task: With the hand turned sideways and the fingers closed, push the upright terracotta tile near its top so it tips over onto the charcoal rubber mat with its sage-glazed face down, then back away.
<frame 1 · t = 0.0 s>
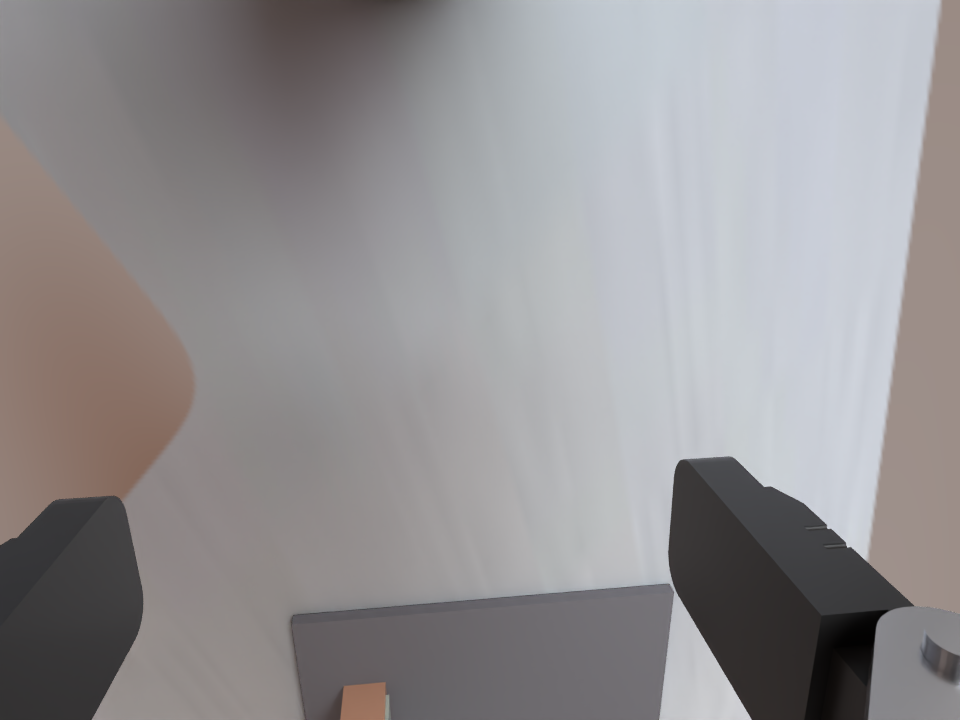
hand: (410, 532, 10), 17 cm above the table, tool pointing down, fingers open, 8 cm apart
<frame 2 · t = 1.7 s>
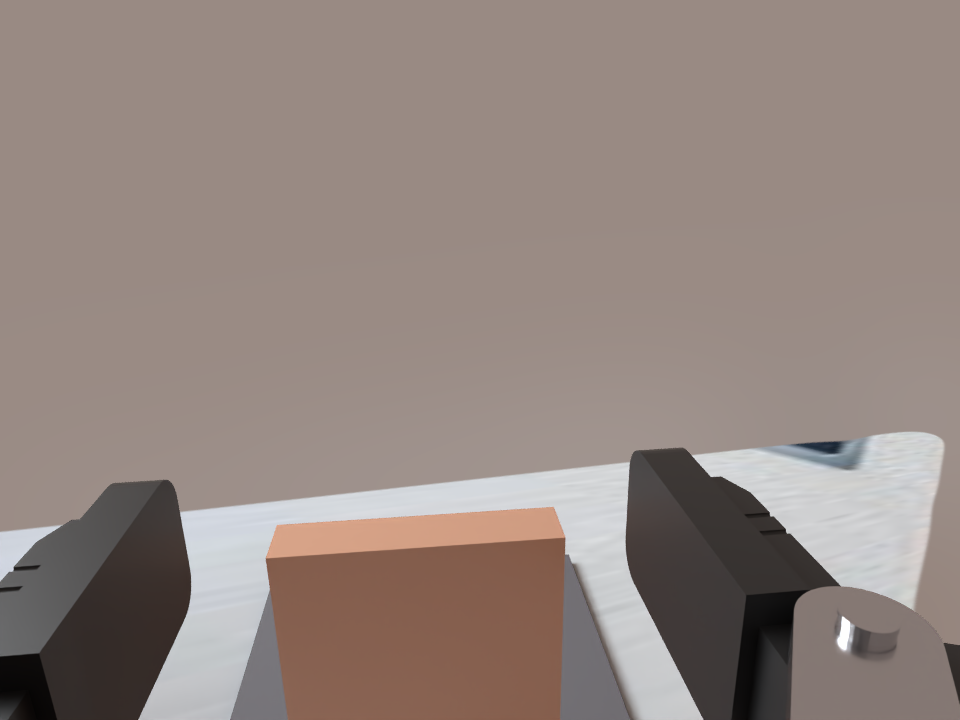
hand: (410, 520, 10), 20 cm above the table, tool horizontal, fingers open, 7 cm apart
mat: (428, 685, 33), on the table
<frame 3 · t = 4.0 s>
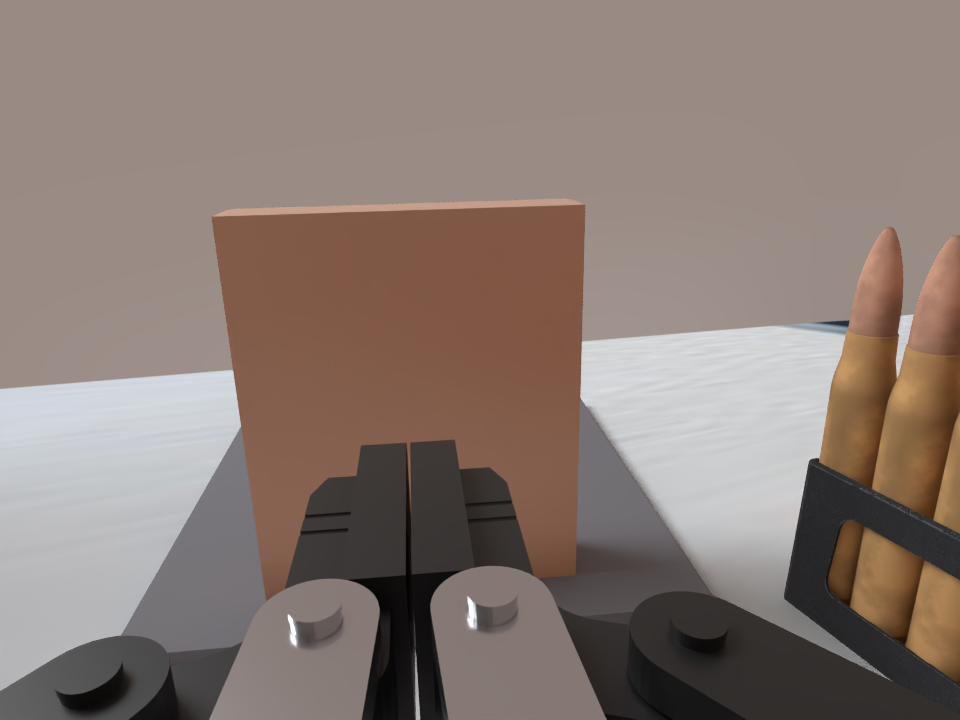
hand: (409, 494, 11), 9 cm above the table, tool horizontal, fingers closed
tile: (423, 569, 23), point 1 cm above the table, touching mat
mat: (420, 496, 29), on the table
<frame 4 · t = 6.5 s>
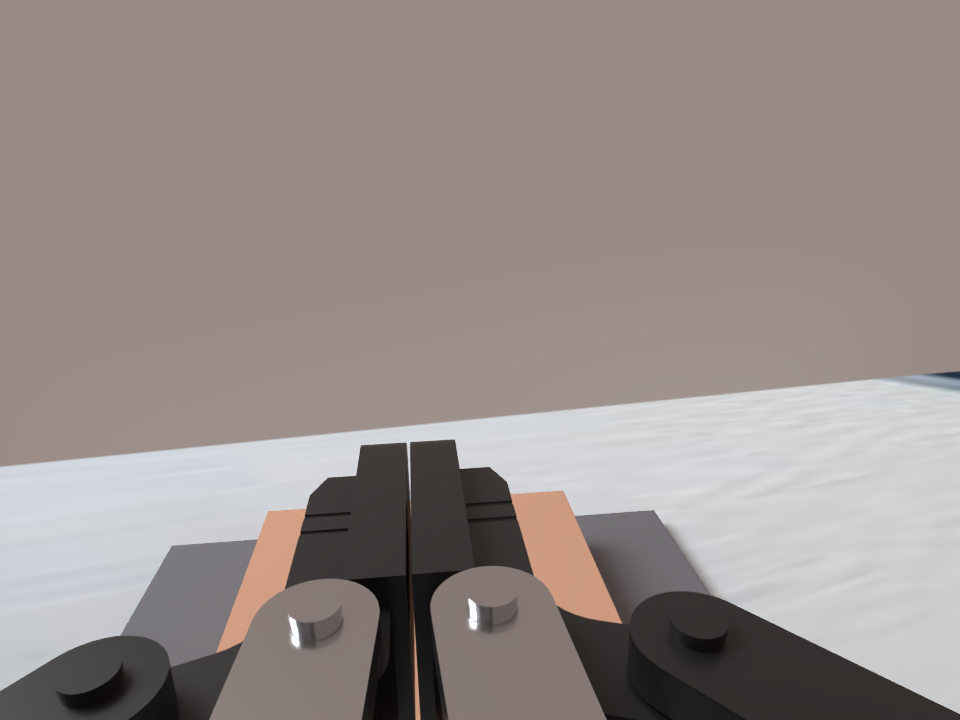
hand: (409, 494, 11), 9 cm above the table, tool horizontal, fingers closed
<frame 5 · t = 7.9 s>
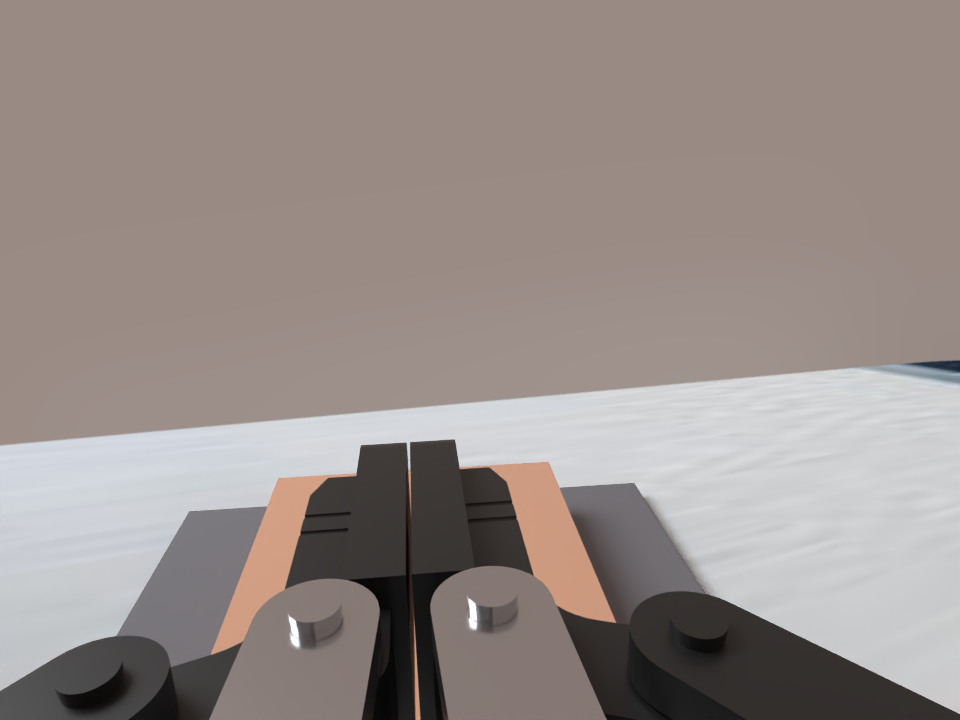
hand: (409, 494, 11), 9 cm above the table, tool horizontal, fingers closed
mat: (422, 675, 19), on the table
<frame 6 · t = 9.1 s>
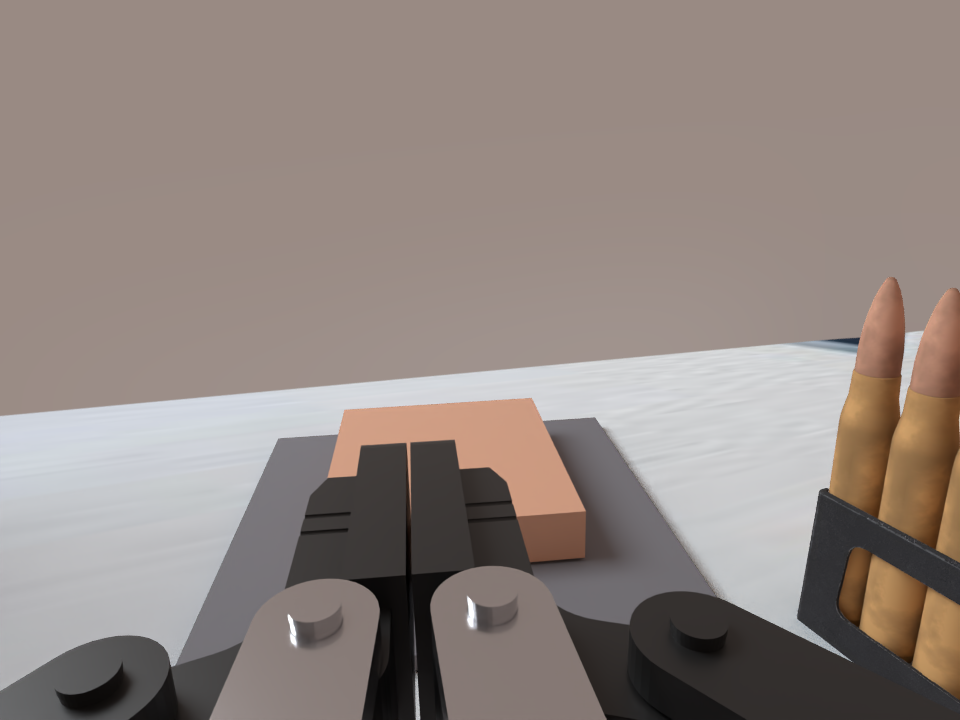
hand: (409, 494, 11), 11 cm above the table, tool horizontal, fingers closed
tile: (453, 545, 25), point 2 cm above the table, tilted 90°, touching mat
mat: (448, 519, 30), on the table
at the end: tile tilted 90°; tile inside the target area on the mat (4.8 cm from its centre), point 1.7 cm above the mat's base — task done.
